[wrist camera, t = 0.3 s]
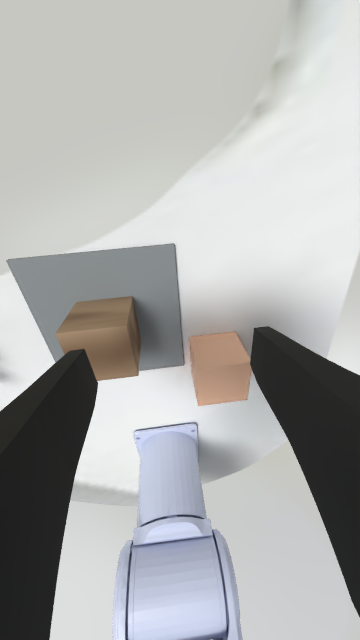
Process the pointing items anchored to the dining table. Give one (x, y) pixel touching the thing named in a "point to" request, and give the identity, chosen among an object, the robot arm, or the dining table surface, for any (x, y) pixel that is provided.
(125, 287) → the mat
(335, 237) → the dining table surface
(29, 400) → the robot arm
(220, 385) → the terracotta block
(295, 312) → the dining table surface
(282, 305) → the dining table surface
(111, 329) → the walnut block
